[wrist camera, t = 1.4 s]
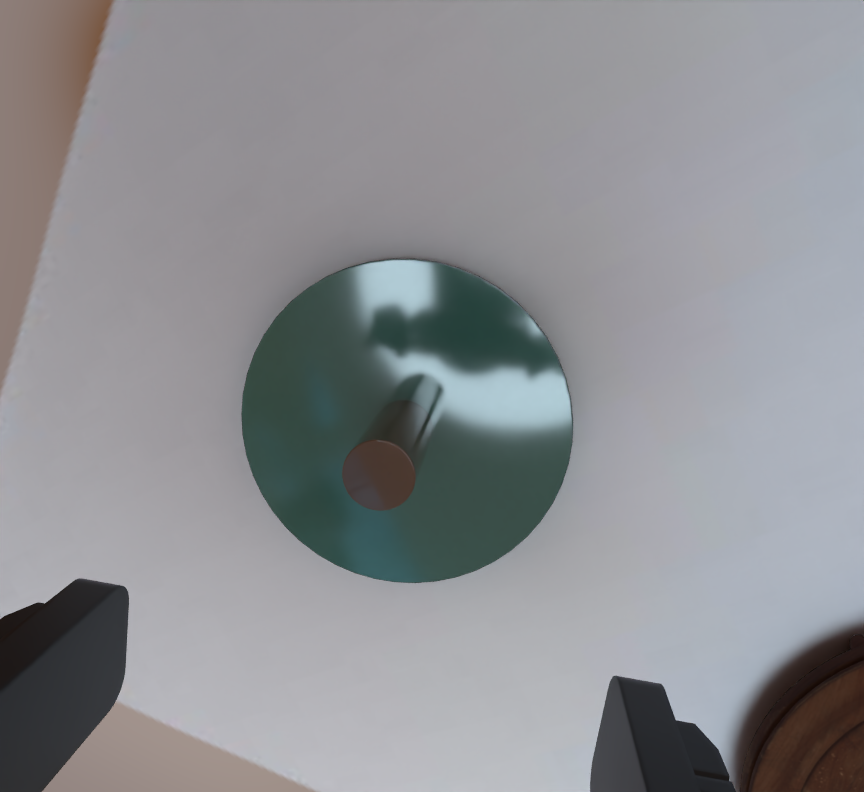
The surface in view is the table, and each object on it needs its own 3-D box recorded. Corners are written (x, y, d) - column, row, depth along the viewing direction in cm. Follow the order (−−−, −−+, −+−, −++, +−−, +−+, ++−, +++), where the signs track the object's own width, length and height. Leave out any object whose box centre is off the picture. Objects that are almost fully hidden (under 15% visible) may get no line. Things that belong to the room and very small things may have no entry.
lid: (188, 431, 31) (99, 485, 24) (389, 185, 28) (352, 168, 22) (422, 630, 32) (400, 736, 25) (640, 412, 29) (682, 465, 22)
